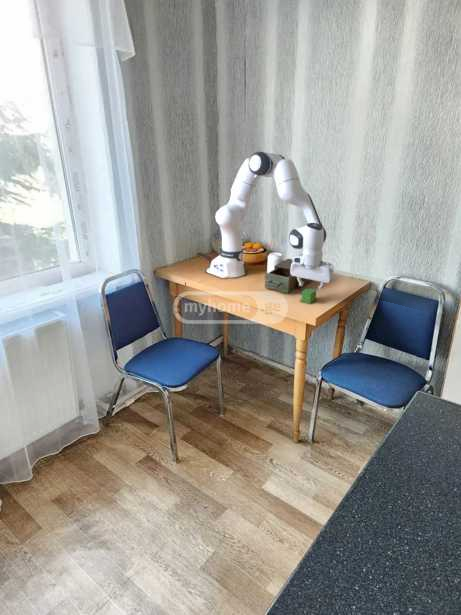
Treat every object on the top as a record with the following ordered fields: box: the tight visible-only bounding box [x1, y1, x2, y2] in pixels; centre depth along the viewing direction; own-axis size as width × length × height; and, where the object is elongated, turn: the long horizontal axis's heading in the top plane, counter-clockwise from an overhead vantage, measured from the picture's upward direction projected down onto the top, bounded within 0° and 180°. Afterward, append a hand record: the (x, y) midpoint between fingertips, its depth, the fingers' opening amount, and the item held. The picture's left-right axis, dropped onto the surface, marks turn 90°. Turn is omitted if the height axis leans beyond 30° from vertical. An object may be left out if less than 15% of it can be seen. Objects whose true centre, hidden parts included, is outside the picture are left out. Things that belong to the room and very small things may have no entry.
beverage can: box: [266, 252, 284, 273], centre depth 218 cm, size 8×8×12 cm
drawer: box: [264, 268, 298, 294], centre depth 200 cm, size 18×13×8 cm
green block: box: [301, 287, 317, 304], centre depth 188 cm, size 6×4×5 cm
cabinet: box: [275, 258, 312, 289], centre depth 210 cm, size 15×15×10 cm
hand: (310, 287), depth 186 cm, fingers open, 8 cm apart
